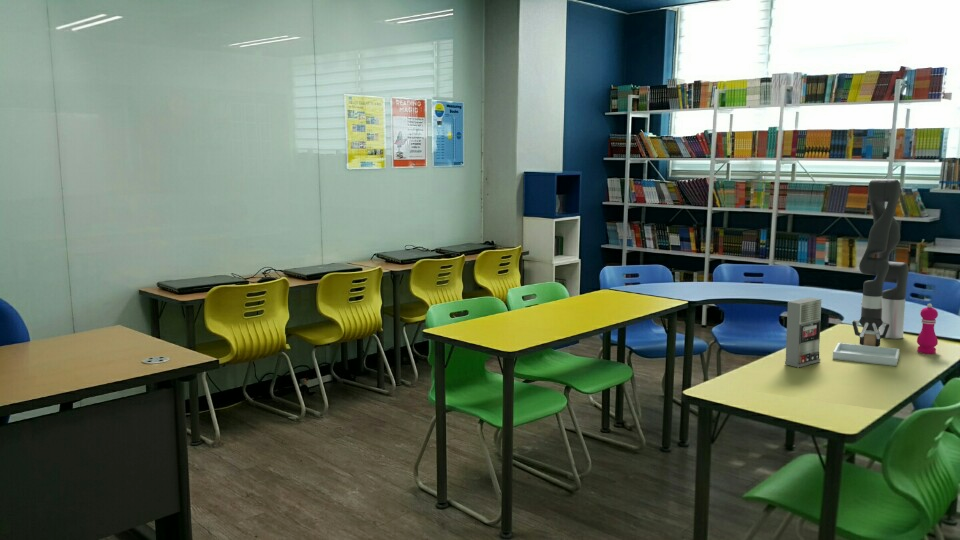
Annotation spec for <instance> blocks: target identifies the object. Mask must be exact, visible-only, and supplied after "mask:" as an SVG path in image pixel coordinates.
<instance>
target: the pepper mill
mask: <svg viewBox="0 0 960 540" xmlns="http://www.w3.org/2000/svg"><path fill="white" fill-rule="evenodd" d="M938 316H939V312H938V310H937V309H936V308H933V305H932V303H927V306H926V307H923V308H922V309H921V310H920V317H921V323H922V325H921V331H920V332H919V334H918V336H917V339H916V343H917V345H918V346H917V352H918V353H920V354H926V355H934V354H936V352H937V348H936V347H937V345H938V344H939V343H938V341H939V339H938V337H937V335H936V332H935V325H936V323H937V322H936V321H937V320H936V319H937V318H938Z"/></svg>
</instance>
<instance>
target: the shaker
mask: <svg viewBox="0 0 960 540" xmlns="http://www.w3.org/2000/svg"><path fill="white" fill-rule="evenodd" d="M863 337H864V340H863V345H866V346H876V339H877V337H876V334H875V331H871V330H866V331H865V333H864V336H863Z"/></svg>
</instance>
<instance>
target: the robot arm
mask: <svg viewBox="0 0 960 540" xmlns="http://www.w3.org/2000/svg"><path fill="white" fill-rule="evenodd" d="M901 190H902V189H901V182H900V181H899V179H895V178H888V179H887V178H875V179H874V178H873V179H872V180H870V181H869V182H868V188H867V194H868V199H869V204H870V208H871V211H872V212H871V213H872V218H873V225H872V226H871V228H870V230H869V235H868V241H867V245H866V248H865V251H864V253H863V256H862V257H861V259H860V262H859V265H858V267H859V271H860V273H861V274H863V275H868V276H876V278H875V279H871V280H865V281H864V282H863V285H862V286H863V288H862V298H861V303H860V305H861V306H860V307H861V309H860V319H858V320H853V321H852V328H853V331H854V335H855V336H858V337H859V345H863V340H864V333H865V331H866V330H871V331H875V334H876V337H877V339H876V347H881V339H894V340H895V339H896V340H897V339H903V338H904V328H905V327H904V325H905V311H906V297H907V285H908V278H909V266H908V263H906V262H902V261H901V262H900V261H889V259H888V258H889V256H890V254H891V253H892V251H893V250H894V249H895V248H896V246H898V244H899V242H900V240H901V232H900V229H901V228H900V225H899V223H898V221H897V220H896V218H895V214H896V210H897V206H898V203H899V199H900V195H901ZM883 202H884V203H887V205H886V207H885V206H884V204H883ZM876 254H877V257H874V256H875V255H876ZM884 283H890V284H891V283H892V284H896V286H895V287H892V288H890V289H889V288H888V289H885V290H883V288H884ZM859 325H861V327H862V330H861V332H859V328H858V326H859Z"/></svg>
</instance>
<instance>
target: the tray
mask: <svg viewBox="0 0 960 540" xmlns="http://www.w3.org/2000/svg"><path fill="white" fill-rule="evenodd" d="M899 358H900V348H895V347H894V348H893V347H885V346H878V347H876V346H866V345H860V344H856V343H855V344H854V343H846V342H845V343H844V342H838V343H837V344H836V346H835V348H834V350H832V360H839V361H847V362H856V363H865V364H873V365H883V366H890V367H897V366H898V361H899Z"/></svg>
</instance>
